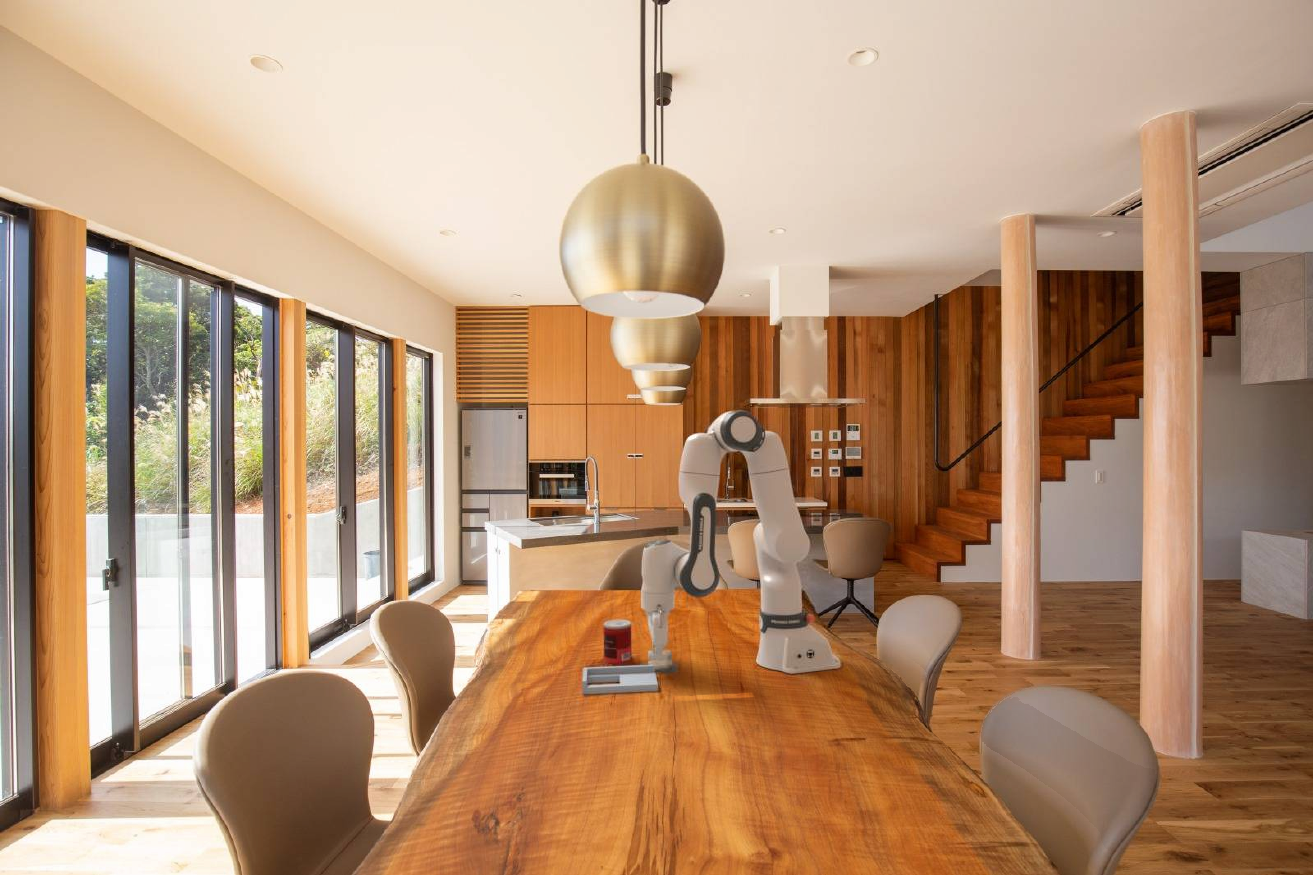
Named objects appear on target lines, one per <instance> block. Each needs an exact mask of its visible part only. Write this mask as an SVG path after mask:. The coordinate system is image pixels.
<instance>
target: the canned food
mask: <svg viewBox="0 0 1313 875" xmlns="http://www.w3.org/2000/svg"><path fill="white" fill-rule="evenodd" d="M602 629H603V662H605V663H608V664H613V665H614V664H615V665H618V664H620V665H621V664H625V663H628V662H631V660H632V622H631V621H630V620H627V619H617V618H616V619H610V620H607V621H605V622H603V628H602Z"/></svg>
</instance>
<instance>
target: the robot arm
mask: <svg viewBox="0 0 1313 875" xmlns="http://www.w3.org/2000/svg"><path fill="white" fill-rule="evenodd" d="M736 452H737V453H738V452H740V453H741V454H742V455H743V456H744V458H745V460H746V463H747V469H748V472H747V473H748V477H749V482H750V489H751V497H752V502H753V503H754V506H755V509H756V511H757V514H758V517H759V521H760V522H759V523H757V525H755V527H754V530H753V534H752V538H753V542H754V547H755V554H756V561H757V568H758V574H759V581H760V609H759V616H758V621H759V623H758V624H759V625H758V626H759V630H760V637H759V638H760V639H759V646H758V652H757V656H756V660H755V662H756V663H757V664H758V665H759V666H761V667H763V668H765V669H766V668H767V669H770V670H774V671H780V672H783V673H787V674H791V675H792V674H800V673H801V674H802V673H808V672H809V673H810V672H818V671H826V670H827V671H828V670H833V669H839V668H841V666H842V664H841V660H840V658H839V657H838V656H836V655H835V654H834V653H832V647H831V644H830V642H829V640H828V639H827V637H825V635H823V634H822V633H820V632H819V631H818V630H817V629H816V628H814V627H813V626H812V625H810V623H814V621H815V620H816V618H815V616H814V615H813V614H812V613H808V612H806V611H805V610H803V608H802V607H803V605H802V604H803V600H802V599H803V598H802V594H803V593H802V581H801V578H800V575H799V571H798V568H797V563H800V562H801V561H803V560H804V559H805V558H806V557H807V556H808V554H809V551H810V549H811V541H810V538H809V536H808V534H807V533H806V530H805V528H804V524H803V521H802V517H801V515H800V514H801V513H800V512H799V509H798V506H797V503H796V500H795V497H794V490H793V485H792V479H791V474H790V469H789V463H788V457H787V454H786V451H785V448H784V444H783V442H782V438H781V437H780V436H779V435H778V433H776V432H774V431H771V430H765V429H764V428H763V426H762V425H761V424H760V422H759V420H758V419H757V418H756V416H755V415H754V414H752V413H751V412H750V411H746V410H743V409H737V410H736V409H735V410H729V411H727V412H726V411H725V412H724V413H722V414H720V415H718V416H716V417H715V418H714V419H713V420H712V421H711V422H710V424H709V425H708V427H707V428H706V429H705V431H704V432H698V433H693V434H691V435H689V436H688V437H687V439H686V440H685V443H684V445H683V449H682V454H681V459H680V464H679V469H678V470H679V472H678V494H679V495H678V496H679V498H680V500H681V501H682V503H683V505H684V506H685V508H686V510H687V512H688V514H689V518H690V519H689V520H690V535H689V536H690V538H689V540H690V541H689V550H688V549H685V548H684V547H681V546H679V545H678V544H676V543H674V542H673V541H672V540H671V539H666V538H663V539H657V540H651V541H649V542H648V543H647V544H645V546H644V548H643V552H642V555H641V557H642V558H641V578H642V585H641V588H640V589H641V590H640V592H641V593H640V594H641V595H640V608H641V609H642V610H644V611H645V615H646V617H647V618H646V619H647V620H646V621H647V625H648V630H649V633H650V637H651V642H652V643H651V646H652V649H653V650H654V651H655V659H656V660H655V661H661V660H662V653H663V650H664V647H667V645H668V638H669V636H668V632H669V631H668V628H669V627H668V625H669V624H668V616H670V611H672V610H674V608H675V588H676V587H681V588H682V589H683V590H684V591H685V592H686V594H688V595H689V596H691V597H694V598H704V597H708V596H709V595H711V594H712V593H713V592H714V591H715V590H716V589H717V588H718V585H719V582H720V576H721V575H720V571H719V567H718V565H717V560H716V555H715V554H716V553H715V551H716V550H715V548H716V526H717V525H716V524H717V522H716V520H717V519H716V518H717V514H716V513H717V512H716V511H717V504H718V503H717V500H718V493H719V484H720V475H721V474H720V473H721V464H722V461H723V459H724V457H725V455H726V454H727V453H736Z"/></svg>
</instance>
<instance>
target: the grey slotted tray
mask: <svg viewBox="0 0 1313 875" xmlns="http://www.w3.org/2000/svg"><path fill="white" fill-rule="evenodd" d="M656 674H657V673H655V665H642V664H640V665H636V664H635V665H616V666H615V665H613V666H595V667H594V666H593V667H583V669H582V682H581V685H582V688H581V690H582V692H581V694H582V695H598V694H599V695H600V694H620V693H621V694H622V693H624V694H625V693H640V692H642V693H645V692H658V691H659V684H658V683H659V682H658V679H657V676H656ZM618 682H619V683H618ZM597 683H598V684H597ZM599 683H601V684H599ZM602 683H610V684H602ZM589 684H590V685H589Z"/></svg>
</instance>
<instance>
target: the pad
mask: <svg viewBox="0 0 1313 875" xmlns="http://www.w3.org/2000/svg"><path fill="white" fill-rule="evenodd" d="M641 665H648V663H642V664H641ZM670 673H671V674H673V673H680V672H679V669H678V666H677V663H676V662H673V661H672V670H658V671H655V674H670Z"/></svg>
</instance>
